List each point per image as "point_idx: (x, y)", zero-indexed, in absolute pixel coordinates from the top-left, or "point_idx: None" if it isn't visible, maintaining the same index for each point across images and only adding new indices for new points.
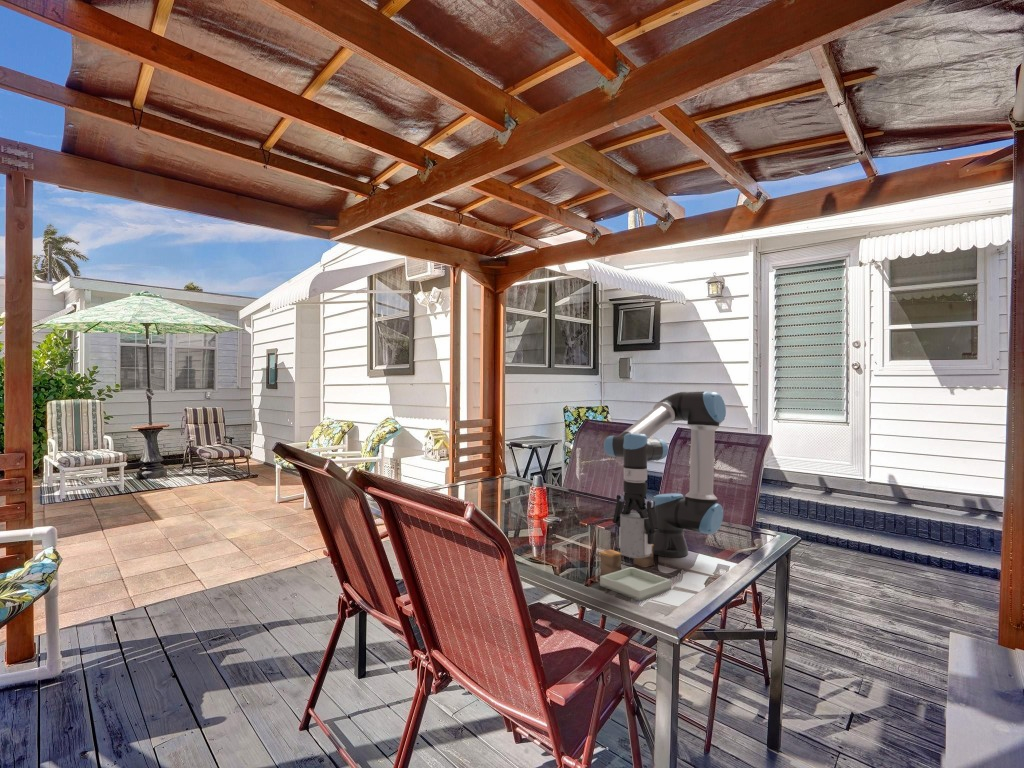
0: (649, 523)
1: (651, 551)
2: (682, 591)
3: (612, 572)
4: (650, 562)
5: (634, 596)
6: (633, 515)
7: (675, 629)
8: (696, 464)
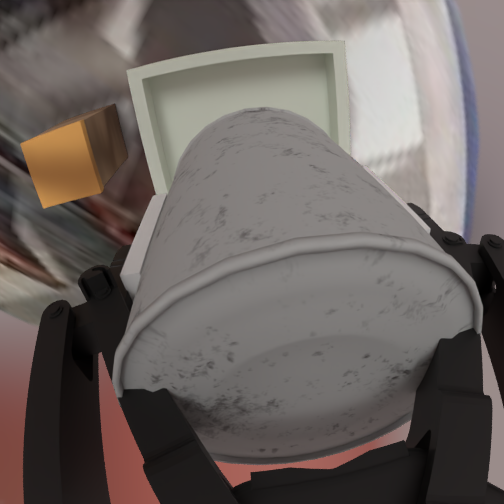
0: None
1: (370, 171)
2: (364, 26)
3: (121, 158)
4: None
5: None
6: (273, 395)
7: None
8: None
